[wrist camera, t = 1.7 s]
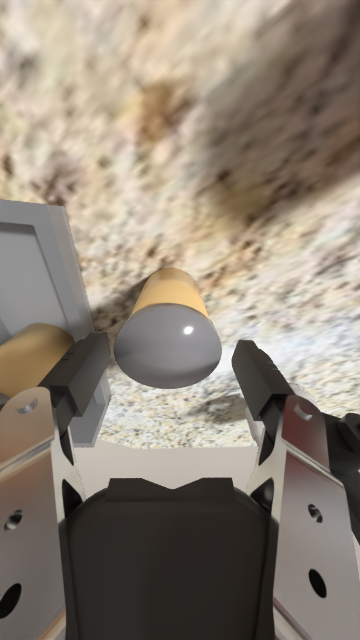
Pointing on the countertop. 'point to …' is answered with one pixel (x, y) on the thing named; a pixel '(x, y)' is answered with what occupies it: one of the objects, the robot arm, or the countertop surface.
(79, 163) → the countertop surface
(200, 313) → the jar
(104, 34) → the countertop surface
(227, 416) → the countertop surface
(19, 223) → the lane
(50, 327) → the jar
